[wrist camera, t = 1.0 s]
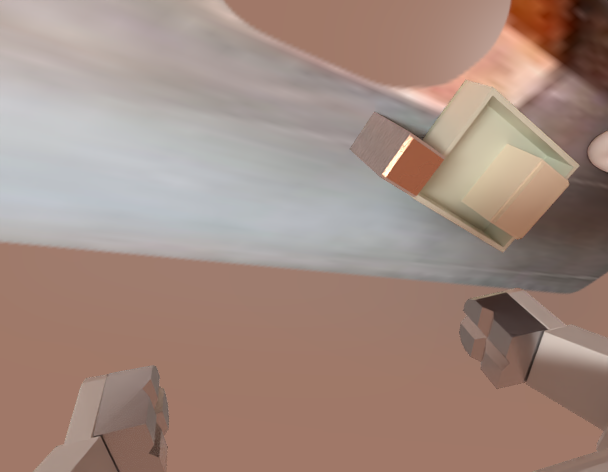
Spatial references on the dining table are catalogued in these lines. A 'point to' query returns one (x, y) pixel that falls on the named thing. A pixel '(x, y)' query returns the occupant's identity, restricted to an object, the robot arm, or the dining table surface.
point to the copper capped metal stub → (396, 154)
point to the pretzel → (599, 151)
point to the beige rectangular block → (515, 191)
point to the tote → (480, 154)
